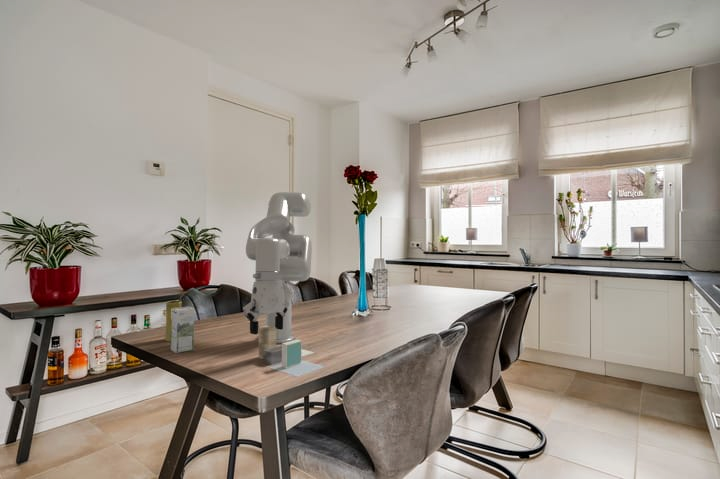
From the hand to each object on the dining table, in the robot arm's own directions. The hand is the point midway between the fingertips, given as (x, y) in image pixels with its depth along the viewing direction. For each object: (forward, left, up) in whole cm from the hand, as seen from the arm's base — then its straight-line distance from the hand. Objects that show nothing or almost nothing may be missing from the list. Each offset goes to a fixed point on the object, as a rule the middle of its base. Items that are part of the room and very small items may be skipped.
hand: (266, 331), depth 121 cm
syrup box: (-30, -12, -9) cm, 34 cm away
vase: (-46, -7, -9) cm, 47 cm away
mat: (+13, +1, -9) cm, 16 cm away
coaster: (+4, +11, -9) cm, 14 cm away
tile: (+11, +1, -9) cm, 14 cm away
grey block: (+1, +1, -9) cm, 9 cm away
